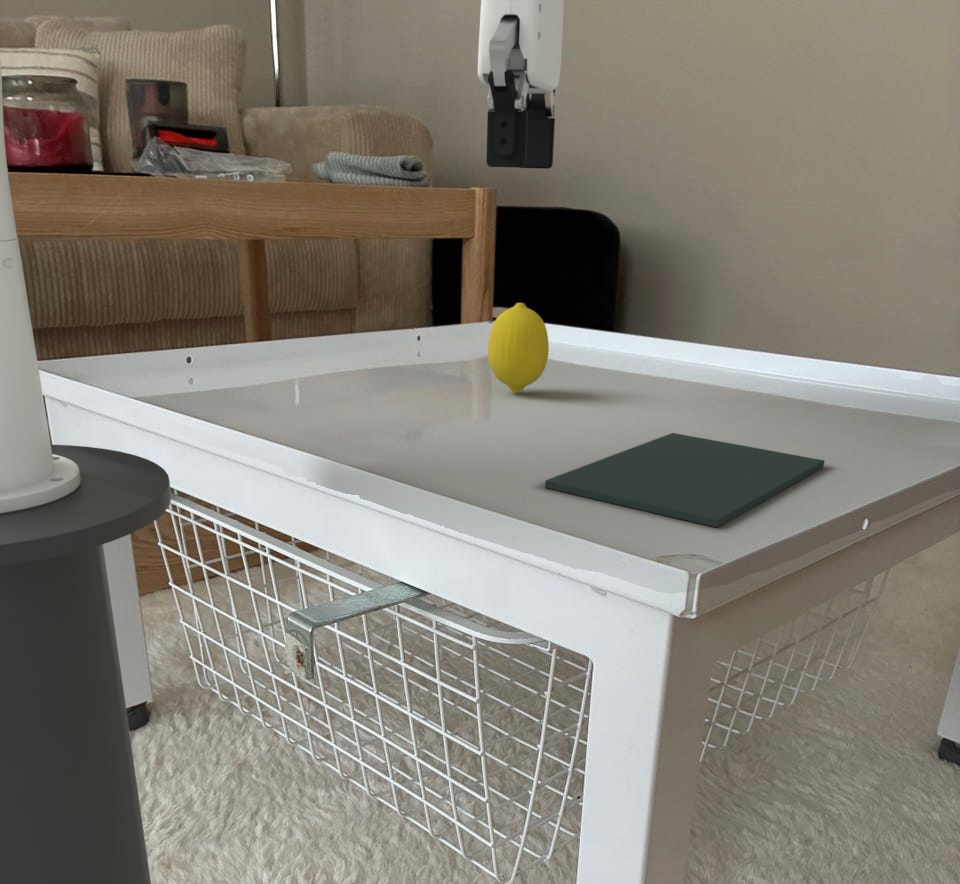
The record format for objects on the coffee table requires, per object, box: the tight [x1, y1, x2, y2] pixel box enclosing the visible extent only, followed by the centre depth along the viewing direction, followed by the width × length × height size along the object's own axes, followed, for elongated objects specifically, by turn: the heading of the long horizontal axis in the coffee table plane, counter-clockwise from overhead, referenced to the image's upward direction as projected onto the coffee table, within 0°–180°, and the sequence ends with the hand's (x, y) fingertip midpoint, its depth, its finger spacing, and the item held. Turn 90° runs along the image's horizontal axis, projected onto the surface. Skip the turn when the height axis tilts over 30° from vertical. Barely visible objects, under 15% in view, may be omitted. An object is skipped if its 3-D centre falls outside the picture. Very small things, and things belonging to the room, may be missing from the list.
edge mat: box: [544, 432, 825, 528], centre depth 67 cm, size 18×12×1 cm, turn 143°
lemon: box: [487, 302, 550, 394], centre depth 89 cm, size 6×6×8 cm
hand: (521, 167), depth 84 cm, fingers open, 9 cm apart
